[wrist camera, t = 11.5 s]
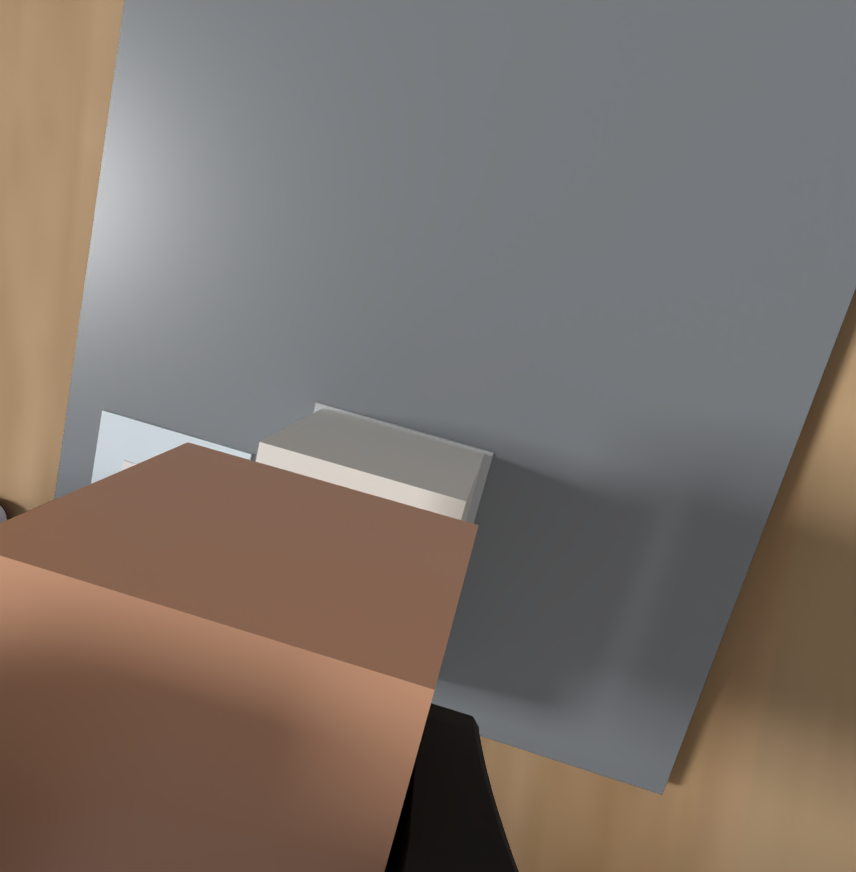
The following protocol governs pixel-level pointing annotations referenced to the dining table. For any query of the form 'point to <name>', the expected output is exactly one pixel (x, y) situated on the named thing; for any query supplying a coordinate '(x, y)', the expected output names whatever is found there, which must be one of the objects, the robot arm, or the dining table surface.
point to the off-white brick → (377, 461)
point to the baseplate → (494, 300)
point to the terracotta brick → (217, 669)
